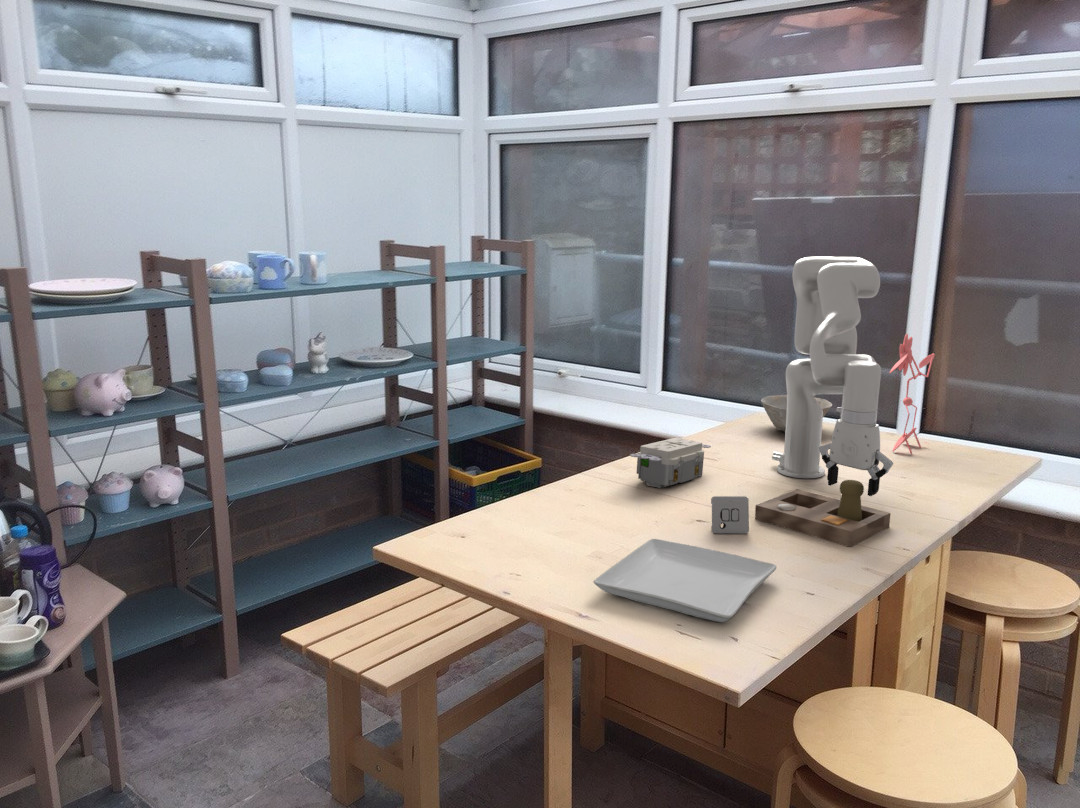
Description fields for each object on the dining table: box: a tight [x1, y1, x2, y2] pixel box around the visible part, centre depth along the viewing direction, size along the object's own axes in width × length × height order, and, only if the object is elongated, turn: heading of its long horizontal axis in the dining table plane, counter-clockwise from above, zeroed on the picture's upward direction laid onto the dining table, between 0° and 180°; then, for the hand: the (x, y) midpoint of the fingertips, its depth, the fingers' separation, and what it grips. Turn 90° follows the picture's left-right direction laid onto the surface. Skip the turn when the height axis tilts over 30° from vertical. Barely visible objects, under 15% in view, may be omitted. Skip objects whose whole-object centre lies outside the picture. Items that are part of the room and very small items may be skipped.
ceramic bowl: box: [761, 394, 833, 433], centre depth 294 cm, size 22×23×10 cm
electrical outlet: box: [629, 437, 711, 489], centre depth 242 cm, size 12×28×10 cm, turn 141°
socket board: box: [754, 488, 891, 548], centre depth 209 cm, size 24×18×4 cm
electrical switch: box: [710, 495, 750, 535], centre depth 204 cm, size 8×5×8 cm, turn 90°
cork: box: [837, 479, 865, 522], centre depth 206 cm, size 6×6×11 cm
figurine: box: [888, 333, 936, 455], centre depth 273 cm, size 15×26×35 cm, turn 142°
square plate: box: [592, 538, 778, 623], centre depth 174 cm, size 27×27×4 cm
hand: (852, 489), depth 206 cm, fingers open, 9 cm apart
